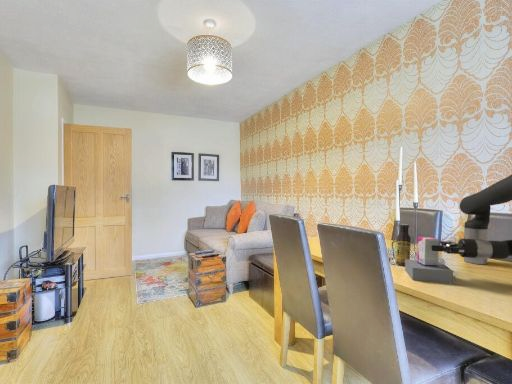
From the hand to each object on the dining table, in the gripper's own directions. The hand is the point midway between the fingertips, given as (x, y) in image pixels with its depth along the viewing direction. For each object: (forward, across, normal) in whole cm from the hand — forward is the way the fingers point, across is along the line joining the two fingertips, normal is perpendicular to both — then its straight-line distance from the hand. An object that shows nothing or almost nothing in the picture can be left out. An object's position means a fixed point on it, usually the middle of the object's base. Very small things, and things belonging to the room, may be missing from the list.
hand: (428, 245), depth 115 cm
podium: (+1, 0, +13) cm, 13 cm away
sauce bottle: (+7, -17, +13) cm, 22 cm away
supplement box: (0, 0, +8) cm, 8 cm away
